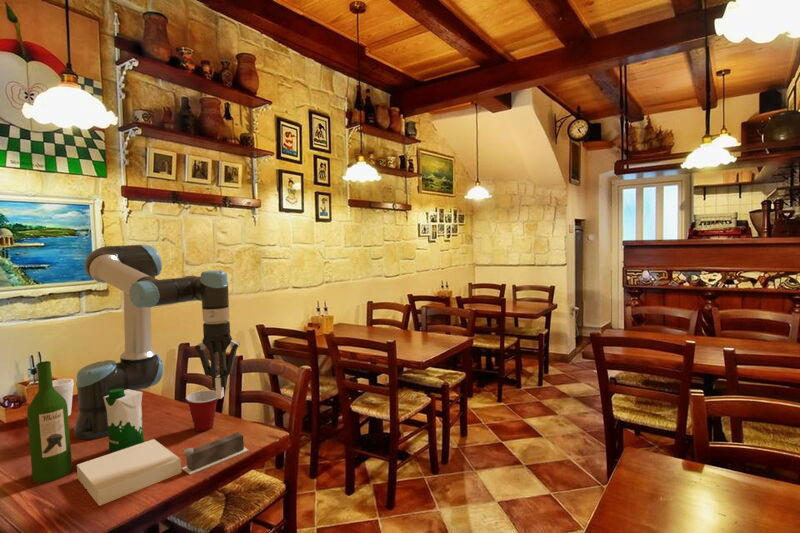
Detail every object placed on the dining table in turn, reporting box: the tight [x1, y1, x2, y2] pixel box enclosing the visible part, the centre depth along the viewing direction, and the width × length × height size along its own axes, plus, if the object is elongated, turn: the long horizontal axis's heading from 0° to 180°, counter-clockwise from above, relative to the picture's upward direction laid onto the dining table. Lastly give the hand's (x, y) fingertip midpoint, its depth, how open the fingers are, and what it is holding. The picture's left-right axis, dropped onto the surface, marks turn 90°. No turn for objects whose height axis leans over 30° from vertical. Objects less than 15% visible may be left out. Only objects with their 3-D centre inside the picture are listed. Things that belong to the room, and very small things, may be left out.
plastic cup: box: [185, 389, 219, 432], centre depth 155 cm, size 11×11×12 cm
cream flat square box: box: [76, 438, 183, 507], centre depth 125 cm, size 20×20×4 cm
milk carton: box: [103, 388, 145, 454], centre depth 140 cm, size 9×9×20 cm
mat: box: [181, 446, 250, 476], centre depth 133 cm, size 5×18×1 cm, turn 139°
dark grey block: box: [182, 431, 245, 470], centre depth 132 cm, size 17×3×6 cm, turn 139°
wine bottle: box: [26, 360, 73, 484], centre depth 125 cm, size 9×9×32 cm
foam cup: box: [52, 378, 75, 417], centre depth 169 cm, size 10×9×13 cm
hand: (220, 397), depth 136 cm, fingers closed
